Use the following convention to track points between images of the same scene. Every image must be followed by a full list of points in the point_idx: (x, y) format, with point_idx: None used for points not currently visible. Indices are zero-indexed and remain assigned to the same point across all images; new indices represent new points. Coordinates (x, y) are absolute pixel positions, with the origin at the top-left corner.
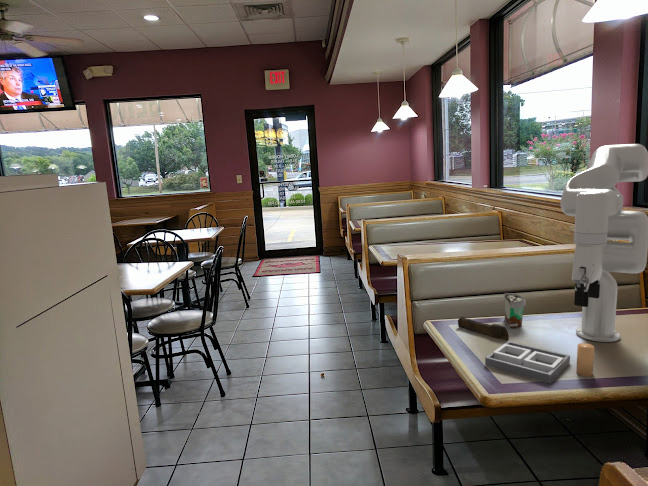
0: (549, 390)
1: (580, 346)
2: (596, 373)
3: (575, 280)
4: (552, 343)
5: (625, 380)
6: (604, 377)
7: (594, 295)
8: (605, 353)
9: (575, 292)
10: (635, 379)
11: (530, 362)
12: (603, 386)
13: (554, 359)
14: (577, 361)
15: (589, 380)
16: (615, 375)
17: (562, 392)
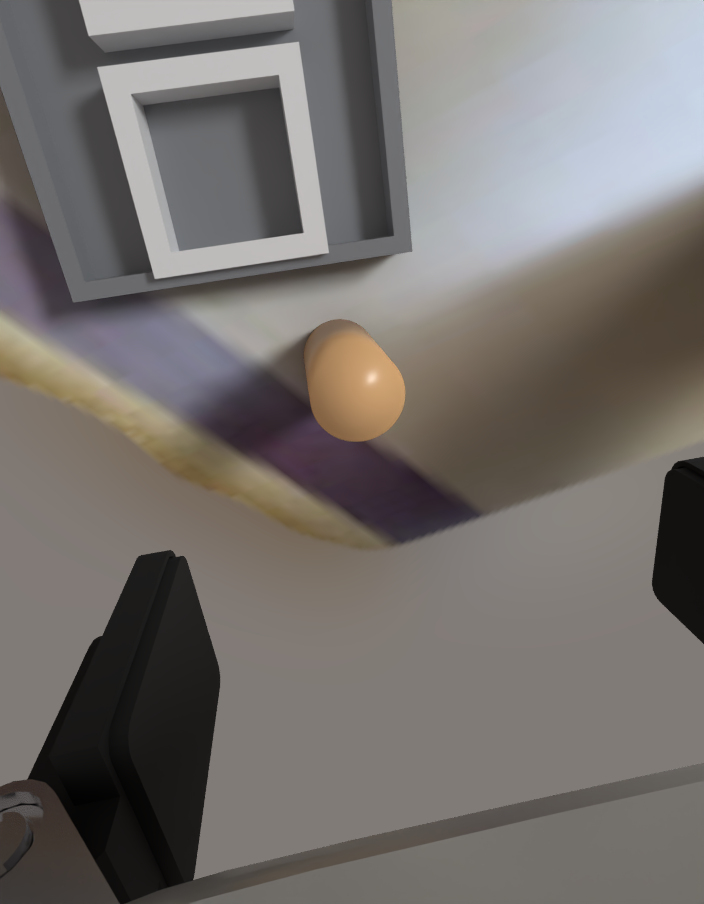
0: (26, 331)
1: (325, 378)
2: None
3: (344, 842)
4: (642, 9)
5: (394, 495)
6: None
7: (678, 576)
8: (644, 319)
9: (72, 723)
10: (430, 514)
11: (113, 123)
12: (271, 465)
13: (299, 207)
14: (316, 344)
15: (283, 404)
16: (415, 452)
17: (65, 381)
